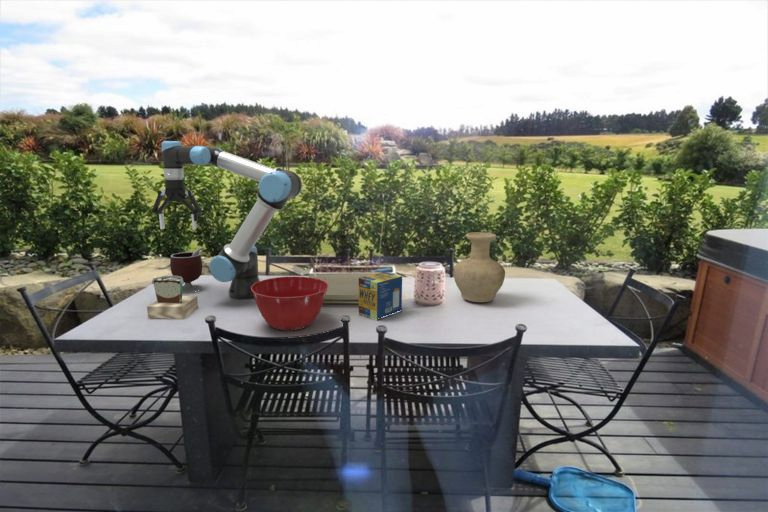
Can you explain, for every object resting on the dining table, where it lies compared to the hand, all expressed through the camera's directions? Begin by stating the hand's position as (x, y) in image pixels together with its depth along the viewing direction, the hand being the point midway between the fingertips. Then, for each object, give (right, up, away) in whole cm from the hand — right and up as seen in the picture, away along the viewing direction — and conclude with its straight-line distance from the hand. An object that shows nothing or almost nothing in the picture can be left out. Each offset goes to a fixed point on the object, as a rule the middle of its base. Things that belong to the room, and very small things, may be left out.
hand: (178, 229), depth 195 cm
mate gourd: (-5, -28, +22) cm, 36 cm away
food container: (+3, -30, -12) cm, 33 cm away
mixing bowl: (+53, -38, -23) cm, 69 cm away
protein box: (+87, -35, -9) cm, 94 cm away
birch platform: (+3, -35, -11) cm, 37 cm away
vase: (+131, -32, +9) cm, 135 cm away
